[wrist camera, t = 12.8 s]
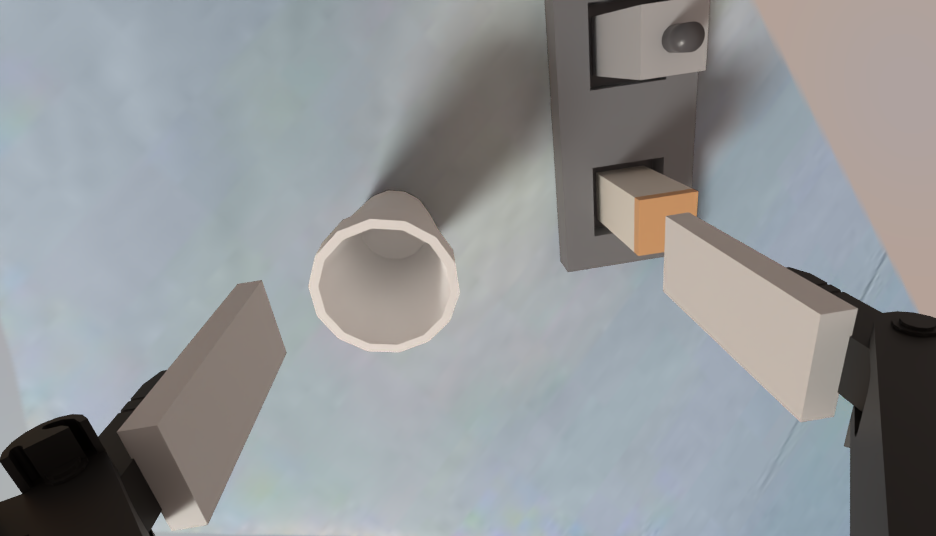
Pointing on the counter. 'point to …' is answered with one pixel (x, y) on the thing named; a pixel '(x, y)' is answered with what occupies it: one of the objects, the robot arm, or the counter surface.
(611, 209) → the plug
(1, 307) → the counter surface
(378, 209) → the foam cup
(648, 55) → the grey tall block
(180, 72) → the counter surface
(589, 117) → the socket strip
